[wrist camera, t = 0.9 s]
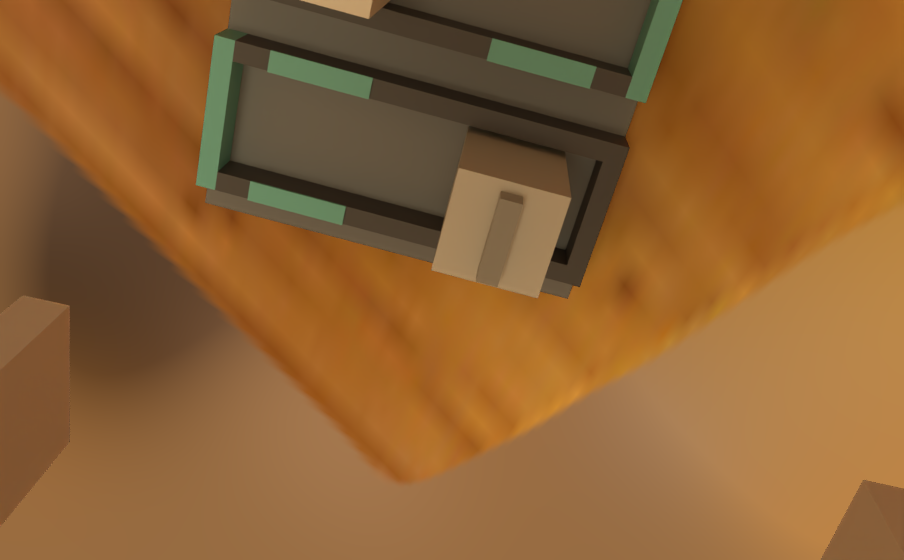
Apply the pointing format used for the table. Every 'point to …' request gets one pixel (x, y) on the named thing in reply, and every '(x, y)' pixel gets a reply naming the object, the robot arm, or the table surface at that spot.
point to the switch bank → (422, 110)
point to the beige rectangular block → (353, 6)
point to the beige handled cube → (504, 212)
